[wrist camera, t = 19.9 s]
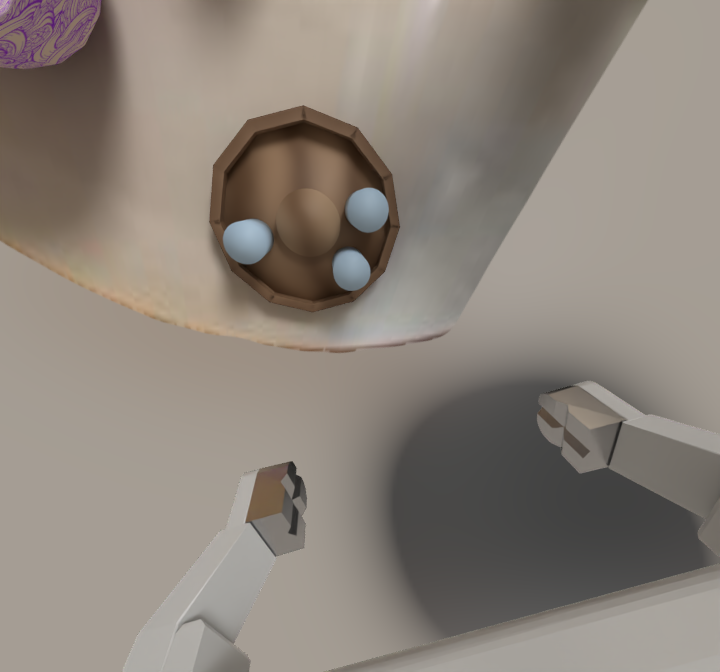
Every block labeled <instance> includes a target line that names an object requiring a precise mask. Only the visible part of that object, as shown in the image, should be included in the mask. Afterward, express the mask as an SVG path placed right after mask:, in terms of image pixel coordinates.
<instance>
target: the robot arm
mask: <svg viewBox="0 0 720 672" xmlns="http://www.w3.org/2000/svg"><path fill="white" fill-rule="evenodd" d="M539 404H540V405H541V406H542V408H541V410H540V411H539V412H538V414H537V422H538V425H539V428H540V430H541V432H542V433H543V435H544V436H545V437H546V438H547V440H548V441H549V442H550V443H553V444H555V445H557V446H559V447H561V454H562V455H563V456H564V457H565V459H566V460H567V461H568V462H569V463H570V464H571V465H572V466H573V467H574V468H575V469H576V470H577V471H578V472H579V473H584V472H588V471H592V470H596V469H601V468H605V467H609V469H611V470H613V471H615V472H617V473H619V474H621V475H623V476H625V477H626V478H629V479H630V480H632V481H634V482H636V483H638V484H640V485H642V486H644V487H646V488H647V489H649V490H651V491H653V492H655V493H657V494H659V495H661V496H663V497H665V498H667V499H669V500H670V501H672V502H674V503H676V504H678V505H680V506H682V507H684V508H686V509H688V510H690V511H692V512H693V513H695V514H697V515H699V516H701V517H703V518H705V521H704V523H703V524H702V526H701V527H700V529H699V531H698V538H699V539H700V540H701V541H702V542H703V543H704V544H705V545H706V546H708V547H709V548H710V549H711V550H712V551H713V552H714V553H715V554H716V555H718V556H719V557H720V434H717V433H714V432H710V431H707V430H703V429H700V428H697V427H693V426H690V425H686V424H683V423H679V422H676V421H673V420H669V419H666V418H662V417H659V416H655V415H651V414H650V415H644V414H643V413H641V412H640V411H638V410H637V409H635V408H634V407H632V406H631V405H629V404H627V403H626V402H624V401H623V400H621V399H620V398H618V397H617V396H615V395H614V394H612V393H610V392H609V391H608V390H606V389H605V388H603V387H601V386H600V385H598V384H597V383H595V382H592V381H586V382H583V383H578V384H575V385H572V386H567V387H563V388H560V389H556V390H553V391H550V392H546V393H542V394H541V395H540V397H539ZM306 505H307V496H306V488H305V485H304V482H303V480H302V478H301V477H300V476H298V475H296V466H295V464H294V463H293V462H292V461H291V462H287V463H282V464H278V465H274V466H269V467H265V468H262V469H258V470H254V471H250V472H246V473H244V474H243V476H242V477H241V479H240V482H239V486H238V489H237V492H236V496H235V499H234V502H233V505H232V509H231V512H230V516H229V519H228V522H227V526H226V529H223V530H220V532H219V533H218V534H217V535H216V536H215V538H214V539H213V540H212V542H211V543H210V544H209V545H208V547H207V548H206V549H205V550H204V552H203V553H202V554H201V555H200V557H199V558H198V559H197V560H196V562H195V563H194V564H193V565H192V567H191V568H190V569H189V571H188V572H187V573H186V574H185V576H184V577H183V578H182V579H181V581H180V582H179V583H178V585H177V586H176V587H175V588H174V589H173V591H172V592H171V593H170V594H169V596H168V597H167V598H166V599H165V601H164V602H163V603H162V604H161V606H160V607H159V608H158V610H157V611H156V612H155V613H154V615H153V616H152V617H151V618H150V620H149V621H148V622H147V623H146V625H145V626H144V627H143V628H142V630H141V631H140V632H139V634H138V636H137V638H136V640H135V642H134V645H133V647H132V649H131V652H130V654H129V656H128V659H127V661H126V663H125V666H124V668H123V670H122V672H249V667H250V659H249V657H248V655H247V654H245V653H244V652H243V651H242V650H240V649H239V648H238V647H236V646H235V645H234V642H235V640H236V638H237V636H238V634H239V632H240V630H241V628H242V626H243V624H244V622H245V620H246V618H247V616H248V614H249V612H250V610H251V608H252V606H253V604H254V602H255V600H256V598H257V596H258V594H259V592H260V589H261V588H262V586H263V584H264V582H265V580H266V578H267V576H268V574H269V572H270V570H271V568H272V566H273V564H274V562H275V560H276V556H279V555H283V554H286V553H289V552H292V551H296V550H299V549H303V548H304V542H305V522H304V520H303V518H302V515H303V513H304V511H305V510H306ZM325 672H720V563H719V564H716V565H712V566H708V567H705V568H701V569H698V570H694V571H690V572H687V573H683V574H679V575H676V576H672V577H668V578H665V579H661V580H658V581H654V582H650V583H646V584H643V585H639V586H635V587H632V588H629V589H624V590H621V591H617V592H614V593H610V594H606V595H603V596H599V597H596V598H592V599H588V600H584V601H581V602H577V603H574V604H570V605H566V606H563V607H559V608H555V609H552V610H548V611H544V612H541V613H537V614H533V615H530V616H526V617H522V618H519V619H515V620H512V621H508V622H504V623H500V624H497V625H493V626H490V627H486V628H482V629H478V630H475V631H471V632H468V633H464V634H461V635H457V636H453V637H450V638H446V639H442V640H438V641H435V642H431V643H427V644H424V645H420V646H417V647H413V648H409V649H405V650H402V651H398V652H395V653H391V654H387V655H384V656H380V657H376V658H373V659H369V660H366V661H362V662H358V663H354V664H351V665H347V666H343V667H340V668H336V669H332V670H329V671H325Z"/></svg>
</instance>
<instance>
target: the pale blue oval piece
mask: <svg viewBox="0 0 720 672" xmlns="http://www.w3.org/2000/svg"><path fill="white" fill-rule="evenodd" d="M388 212H389V207H388V202H387V200H386V198H385V196H384V195H383V194H382V193H381V192H380V191H378V190H377V189H374V188H364V189H361V190H358V191H355V192H353V193H352V194H351V195H350V196H349V197H348V199H347V201H346V204H345V215H346V218H347V220H348V221H349V222H350V224H352V225H353V226H354V227H355V228H357V229H358V230H360V231H362V232H367V233H369V232H374V231H377V230H378V229H380V228H381V227H382V226H383V225H384V223H385V222H386V220H387V217H388Z"/></svg>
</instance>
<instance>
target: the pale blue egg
mask: <svg viewBox="0 0 720 672" xmlns="http://www.w3.org/2000/svg"><path fill="white" fill-rule="evenodd" d="M332 268H333V275H334V279H335V281H336V283H337V284H338V285H339V286H340V287H341V288H343V289H345V290H348V291H355V290H359V289H361V288H362V287H364V286H365V285H366V284H367V282H368V280H369V278H370V266H369V264H368V262H367V260H366V259H365V258H364V256H363V255H362V254H361V252H360V251H359V250H357V249H356V248H354V247H343V248H341V249H339V250H338V251H337V252H336V253H335V254H334V256H333V259H332Z"/></svg>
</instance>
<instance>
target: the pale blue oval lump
mask: <svg viewBox="0 0 720 672" xmlns="http://www.w3.org/2000/svg"><path fill="white" fill-rule="evenodd" d="M223 244H224V247H225V250H226V252H227V253H228V254H229V256H230V257H231V258H233V259H234V260H235V261H237V262H239V263H242V264H254V263H256V262H258V261H259V260H261V259H262V258H263V257H264V256H265V255H266V254H267V253H268V252H269V251H270V250H271V249H272V247H273V244H274V235H273V232H272V230H271V228H270V227H269V226H268V225H267V224H266V223H265V222H263V221H261V220H259V219H247V220H243V221H239V222H235V223H232V224H231V225H229V226H228V227H227V228H226V230H225V232H224V235H223Z"/></svg>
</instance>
